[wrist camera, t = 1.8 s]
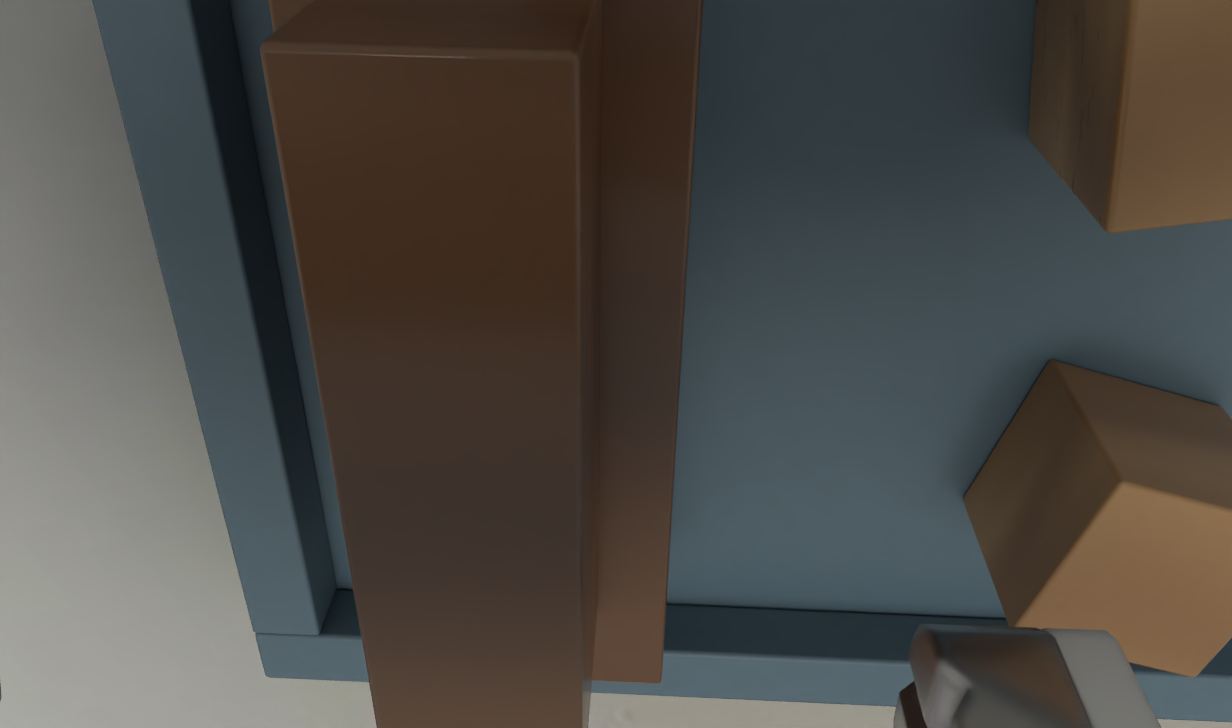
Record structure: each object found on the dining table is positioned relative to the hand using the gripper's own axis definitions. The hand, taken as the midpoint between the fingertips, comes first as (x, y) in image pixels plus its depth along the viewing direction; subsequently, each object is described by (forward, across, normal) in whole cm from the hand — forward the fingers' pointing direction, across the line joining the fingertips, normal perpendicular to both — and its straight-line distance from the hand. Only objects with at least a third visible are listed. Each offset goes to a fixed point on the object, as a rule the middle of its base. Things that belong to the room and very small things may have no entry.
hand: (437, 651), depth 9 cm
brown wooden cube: (+6, -9, +3) cm, 11 cm away
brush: (+8, 0, 0) cm, 8 cm away
